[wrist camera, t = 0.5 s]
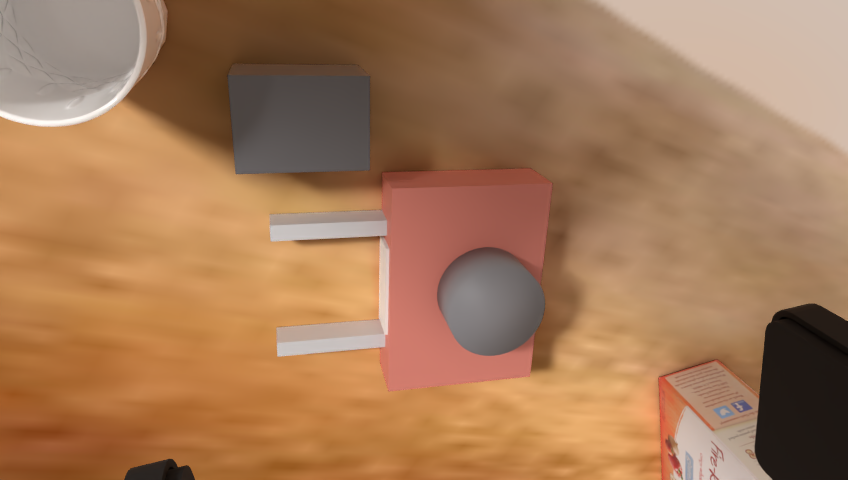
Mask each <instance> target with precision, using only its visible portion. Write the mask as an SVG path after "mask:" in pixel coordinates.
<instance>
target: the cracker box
mask: <svg viewBox="0 0 848 480" xmlns="http://www.w3.org/2000/svg"><path fill="white" fill-rule="evenodd" d="M658 379H659V397H660V428H661V463H662V480H772V479H771V478H770V477H769V476H768V475H767V474H766V473H765V471H764V470H763V469H762V468H761V466H760V465H759V463H758V461H757V458H756V455H755V448H754V447H755V436H756V426H757V415H758V405H759V395H758V394H757V393H756V392H755V391H754V390H753V389H751V388H750V387H749V386H748V385H747V384H746V383H744V382H743V381H742V380H741V379H740V378H739V377H737V376H736V375H735V374H734V373H733V372H732V371H731V370H729V369H728V368H727V367H726V366H724V365H723V364H722V363H721V362H720V361H719V360H713V361H710V362H707V363H704V364H701V365H697V366H694V367H691V368H688V369H684V370H681V371H678V372H675V373H672V374H668V375H665V376H662V377H659V378H658Z"/></svg>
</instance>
